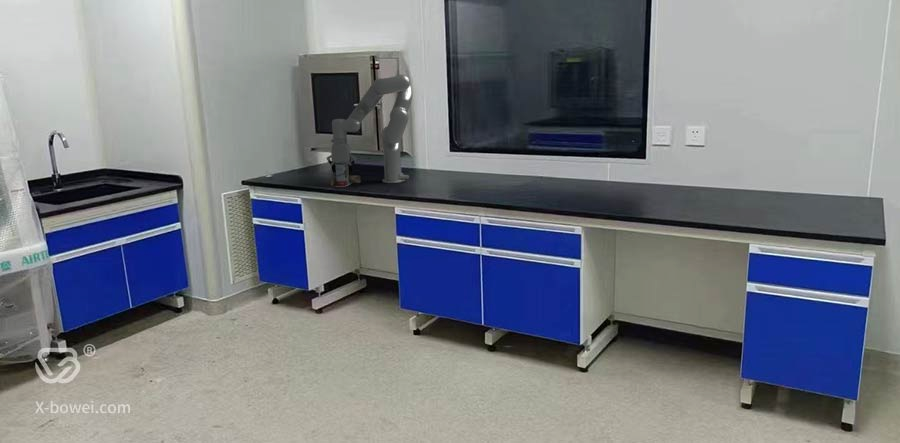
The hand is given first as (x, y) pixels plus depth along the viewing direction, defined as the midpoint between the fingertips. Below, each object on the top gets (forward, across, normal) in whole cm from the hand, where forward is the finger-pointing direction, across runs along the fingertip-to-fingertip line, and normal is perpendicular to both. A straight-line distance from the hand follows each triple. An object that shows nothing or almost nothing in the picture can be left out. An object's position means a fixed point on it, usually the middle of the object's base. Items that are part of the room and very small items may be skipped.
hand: (342, 172), depth 372 cm
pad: (+7, 0, 0) cm, 7 cm away
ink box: (+7, 0, 0) cm, 7 cm away
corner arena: (+7, +1, +1) cm, 8 cm away
